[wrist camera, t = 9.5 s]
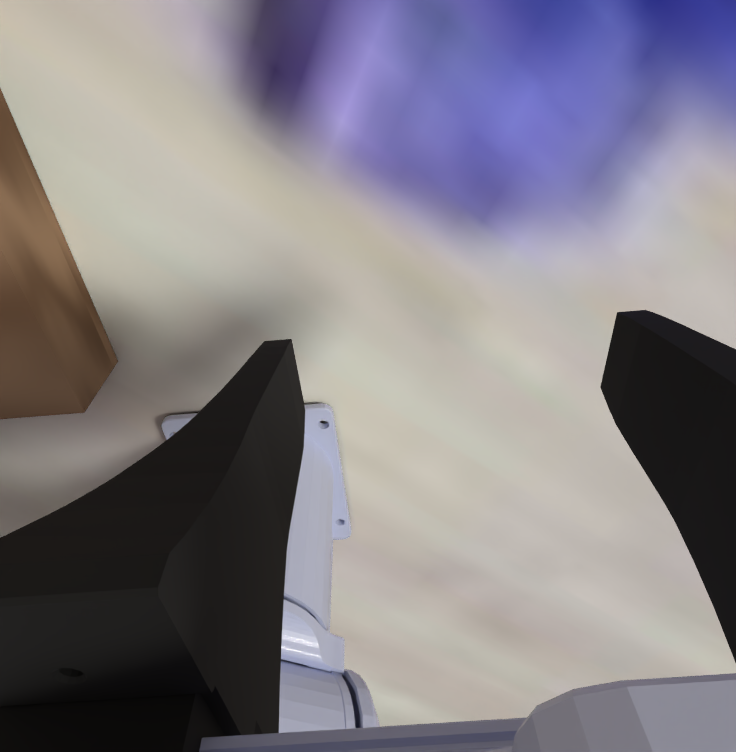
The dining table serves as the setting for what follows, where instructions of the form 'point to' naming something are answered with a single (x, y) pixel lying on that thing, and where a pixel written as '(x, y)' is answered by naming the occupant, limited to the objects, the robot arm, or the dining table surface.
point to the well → (41, 299)
